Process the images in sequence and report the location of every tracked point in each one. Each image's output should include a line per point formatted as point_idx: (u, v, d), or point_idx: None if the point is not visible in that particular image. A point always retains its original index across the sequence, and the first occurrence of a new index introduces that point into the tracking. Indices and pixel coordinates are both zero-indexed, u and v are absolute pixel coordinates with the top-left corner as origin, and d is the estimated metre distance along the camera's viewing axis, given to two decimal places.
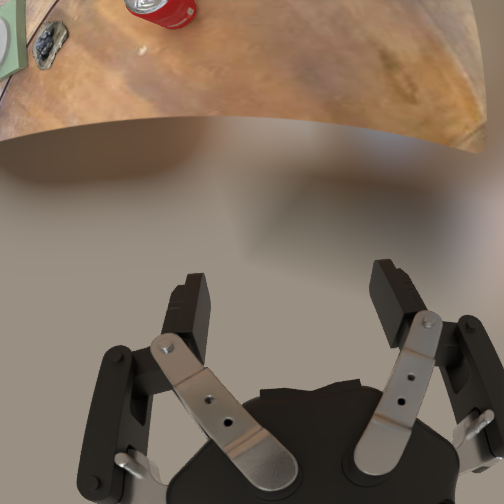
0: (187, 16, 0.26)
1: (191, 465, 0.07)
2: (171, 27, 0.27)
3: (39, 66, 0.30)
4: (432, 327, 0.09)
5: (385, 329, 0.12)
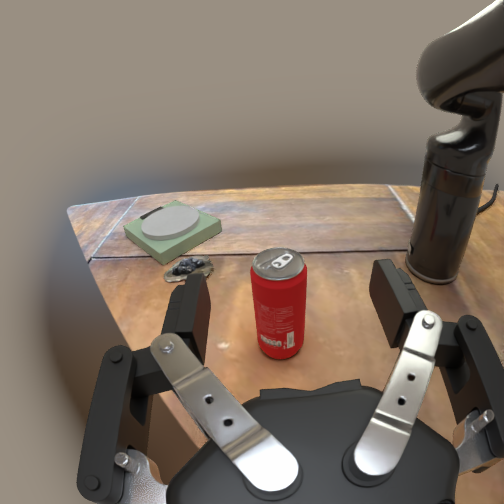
0: (283, 342, 0.30)
1: (191, 465, 0.07)
2: (262, 342, 0.32)
3: (166, 273, 0.47)
4: (432, 327, 0.09)
5: (385, 329, 0.12)
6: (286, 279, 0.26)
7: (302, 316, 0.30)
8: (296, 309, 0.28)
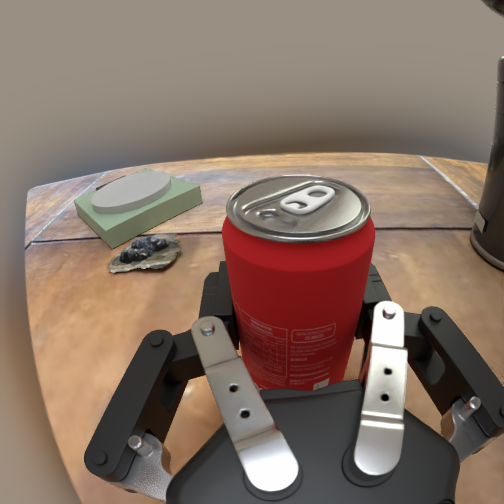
0: None
1: (191, 465, 0.07)
2: None
3: (112, 260, 0.29)
4: (392, 317, 0.10)
5: None
6: (329, 239, 0.08)
7: (351, 343, 0.12)
8: (345, 329, 0.10)
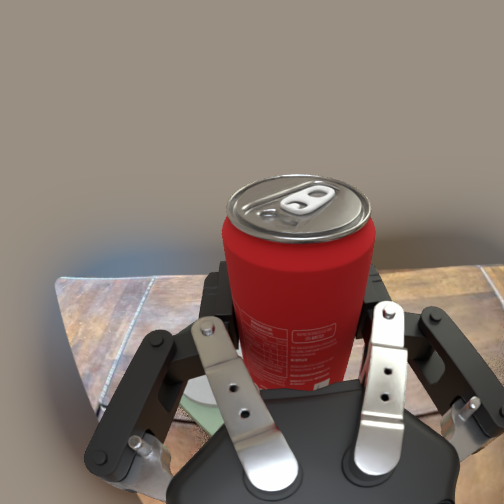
0: None
1: (192, 465, 0.07)
2: None
3: None
4: (392, 317, 0.10)
5: None
6: (329, 240, 0.08)
7: (351, 343, 0.12)
8: (345, 330, 0.10)
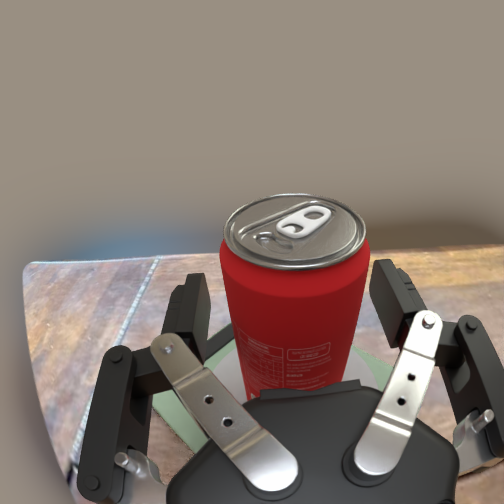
0: None
1: (192, 465, 0.07)
2: None
3: None
4: (432, 327, 0.09)
5: (385, 329, 0.12)
6: (323, 267, 0.08)
7: (346, 358, 0.12)
8: (339, 347, 0.10)
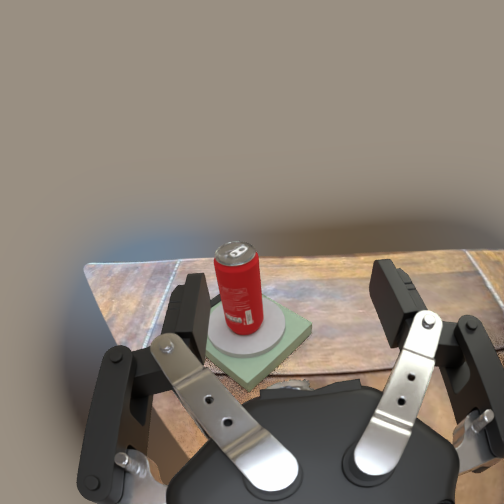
0: (243, 318, 0.38)
1: (191, 464, 0.07)
2: (227, 320, 0.39)
3: None
4: (432, 327, 0.09)
5: (385, 329, 0.12)
6: (239, 265, 0.33)
7: (257, 297, 0.37)
8: (250, 290, 0.35)
